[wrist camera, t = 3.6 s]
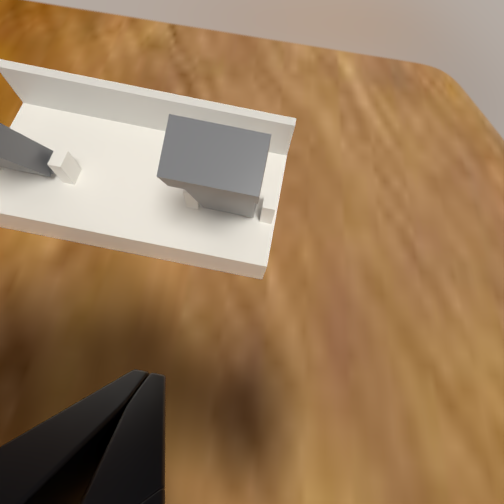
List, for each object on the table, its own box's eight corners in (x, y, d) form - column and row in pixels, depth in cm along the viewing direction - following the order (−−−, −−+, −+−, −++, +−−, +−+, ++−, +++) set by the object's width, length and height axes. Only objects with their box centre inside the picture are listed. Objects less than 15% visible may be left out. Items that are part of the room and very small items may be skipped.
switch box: (262, 279, 23) (272, 249, 18) (-3, 226, 23) (-76, 179, 18) (282, 170, 27) (296, 115, 21) (49, 123, 27) (1, 56, 21)
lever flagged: (255, 223, 21) (258, 197, 11) (200, 213, 21) (156, 176, 11) (262, 190, 21) (271, 134, 11) (207, 179, 21) (168, 113, 11)
